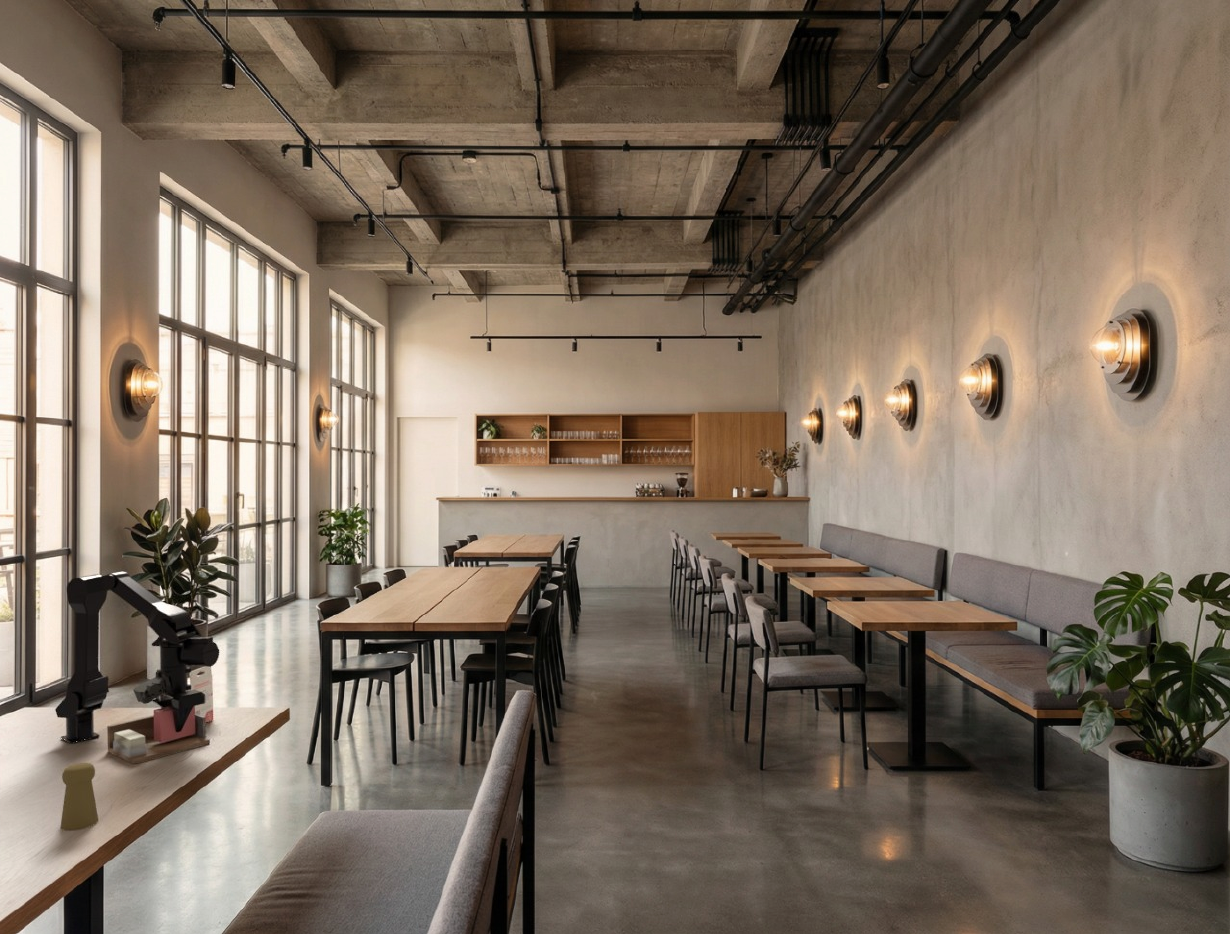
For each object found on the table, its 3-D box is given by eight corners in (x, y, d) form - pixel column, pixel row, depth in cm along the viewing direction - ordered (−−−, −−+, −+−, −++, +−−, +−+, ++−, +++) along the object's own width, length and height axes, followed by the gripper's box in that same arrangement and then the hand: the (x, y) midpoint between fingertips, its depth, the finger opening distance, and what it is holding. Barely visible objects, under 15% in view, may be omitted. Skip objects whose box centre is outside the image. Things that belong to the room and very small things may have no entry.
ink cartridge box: (197, 719, 224) (196, 663, 223) (214, 720, 223) (213, 663, 222) (174, 729, 215) (173, 671, 215) (191, 730, 214) (190, 671, 214)
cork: (71, 817, 162) (70, 759, 162) (104, 816, 163) (103, 758, 162) (53, 831, 156) (52, 771, 156) (88, 829, 157) (87, 769, 156)
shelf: (107, 751, 199) (107, 725, 199) (181, 732, 212) (181, 708, 212) (134, 764, 190) (133, 737, 190) (209, 743, 204) (209, 718, 204)
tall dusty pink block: (154, 739, 201) (153, 710, 201) (188, 731, 208) (187, 702, 208) (160, 742, 199) (160, 712, 199) (195, 733, 205) (194, 704, 205)
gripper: (120, 665, 203) (121, 731, 203) (156, 677, 191) (157, 747, 191) (168, 656, 211) (169, 720, 212) (206, 667, 200) (207, 734, 200)
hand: (174, 730), depth 203 cm, fingers closed on tall dusty pink block, 3 cm apart
